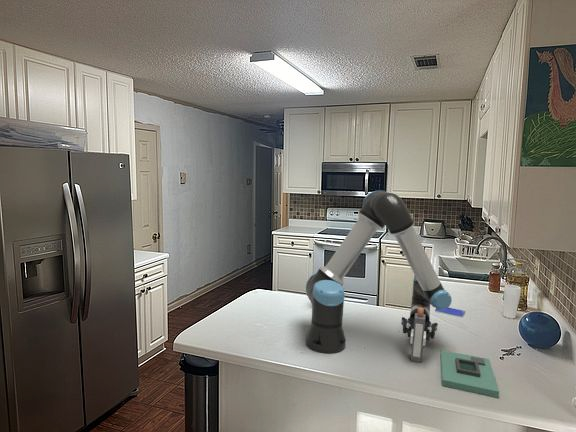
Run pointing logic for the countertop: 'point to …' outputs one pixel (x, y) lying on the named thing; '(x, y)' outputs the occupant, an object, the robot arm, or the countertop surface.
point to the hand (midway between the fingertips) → (417, 340)
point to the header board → (468, 373)
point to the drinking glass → (511, 300)
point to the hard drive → (451, 312)
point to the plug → (418, 335)
